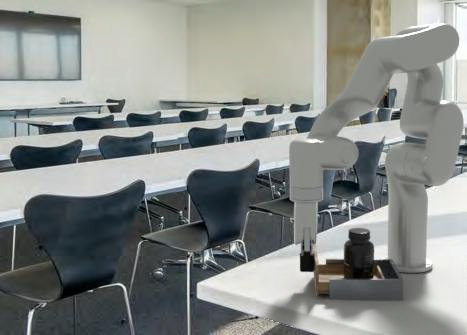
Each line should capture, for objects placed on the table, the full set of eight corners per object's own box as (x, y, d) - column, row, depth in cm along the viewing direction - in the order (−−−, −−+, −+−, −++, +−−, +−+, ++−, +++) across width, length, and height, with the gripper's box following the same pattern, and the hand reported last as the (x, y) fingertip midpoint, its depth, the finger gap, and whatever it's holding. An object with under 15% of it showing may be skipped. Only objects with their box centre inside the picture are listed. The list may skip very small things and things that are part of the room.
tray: (312, 272, 143) (312, 245, 142) (377, 273, 141) (377, 245, 140) (315, 295, 128) (315, 264, 127) (387, 296, 127) (388, 265, 126)
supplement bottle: (337, 281, 134) (337, 230, 133) (353, 273, 139) (353, 224, 138) (364, 288, 130) (364, 235, 128) (379, 279, 135) (380, 229, 133)
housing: (325, 276, 143) (325, 258, 142) (391, 277, 141) (392, 258, 141) (329, 299, 128) (329, 279, 127) (403, 300, 126) (403, 280, 126)
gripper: (290, 187, 140) (290, 260, 143) (289, 200, 126) (290, 281, 128) (321, 187, 140) (321, 260, 142) (324, 200, 125) (324, 282, 128)
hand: (306, 270), depth 135 cm, fingers closed
